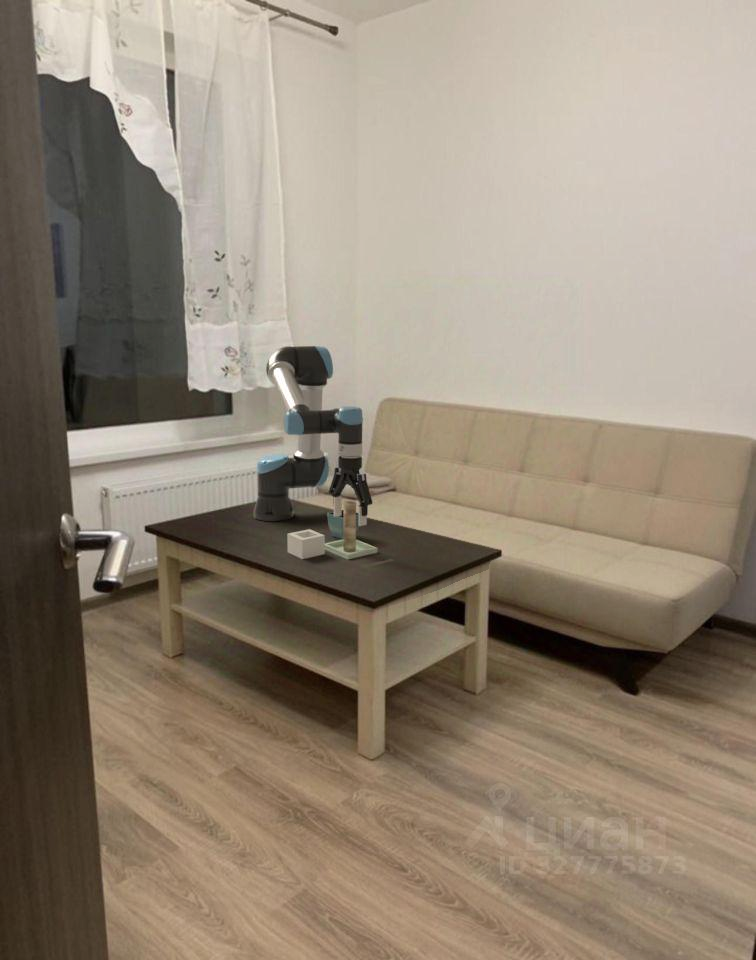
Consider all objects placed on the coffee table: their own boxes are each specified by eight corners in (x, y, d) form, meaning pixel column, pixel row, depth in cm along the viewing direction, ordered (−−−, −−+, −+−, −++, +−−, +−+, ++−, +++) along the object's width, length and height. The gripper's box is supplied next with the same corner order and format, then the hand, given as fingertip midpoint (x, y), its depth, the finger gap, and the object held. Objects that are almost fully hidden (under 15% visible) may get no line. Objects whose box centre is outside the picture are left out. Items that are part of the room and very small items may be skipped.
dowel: (341, 549, 246) (341, 502, 242) (350, 547, 248) (351, 500, 245) (348, 552, 243) (348, 504, 239) (358, 550, 245) (358, 503, 242)
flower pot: (345, 533, 267) (345, 508, 265) (362, 538, 261) (362, 513, 259) (326, 538, 261) (326, 513, 259) (343, 543, 255) (343, 518, 253)
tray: (322, 550, 247) (322, 543, 247) (351, 544, 255) (351, 537, 254) (347, 561, 237) (347, 554, 236) (377, 554, 244) (377, 547, 244)
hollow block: (287, 554, 243) (287, 533, 241) (309, 549, 248) (309, 529, 247) (302, 561, 236) (302, 540, 235) (324, 556, 242) (324, 535, 240)
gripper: (318, 451, 246) (318, 513, 251) (364, 463, 227) (364, 531, 232) (337, 448, 250) (336, 510, 255) (384, 461, 232) (383, 527, 236)
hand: (349, 520), depth 243 cm, fingers open, 13 cm apart
